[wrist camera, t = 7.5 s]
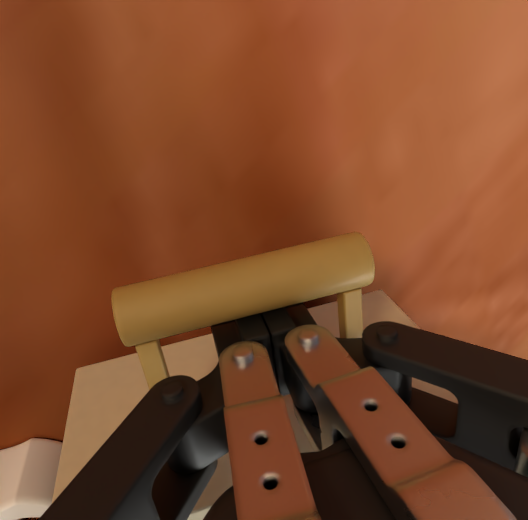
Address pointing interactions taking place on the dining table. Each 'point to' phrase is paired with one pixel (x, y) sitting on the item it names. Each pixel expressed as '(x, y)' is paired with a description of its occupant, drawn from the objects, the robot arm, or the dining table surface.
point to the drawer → (203, 348)
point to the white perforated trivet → (28, 478)
